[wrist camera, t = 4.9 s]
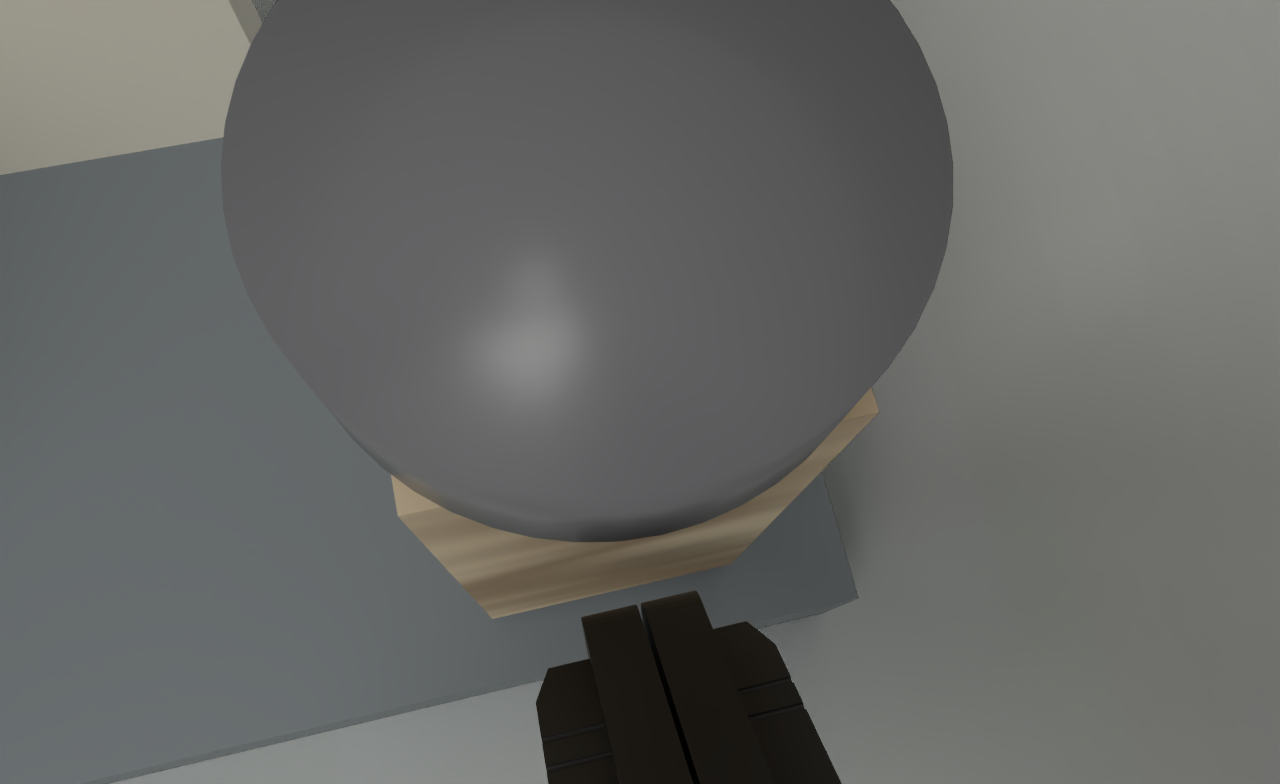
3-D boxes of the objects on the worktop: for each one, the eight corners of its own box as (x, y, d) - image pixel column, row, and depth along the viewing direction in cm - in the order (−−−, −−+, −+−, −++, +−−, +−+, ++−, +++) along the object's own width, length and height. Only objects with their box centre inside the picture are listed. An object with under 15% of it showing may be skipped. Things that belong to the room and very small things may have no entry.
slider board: (-573, 946, 17) (-1918, 1213, 8) (-506, 237, 20) (-1369, -143, 11) (825, 611, 20) (1032, 523, 11) (665, 41, 23) (717, -386, 14)
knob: (461, 664, 16) (271, 584, 6) (408, 363, 18) (184, -96, 8) (774, 591, 17) (1054, 411, 7) (697, 305, 18) (837, -188, 8)
